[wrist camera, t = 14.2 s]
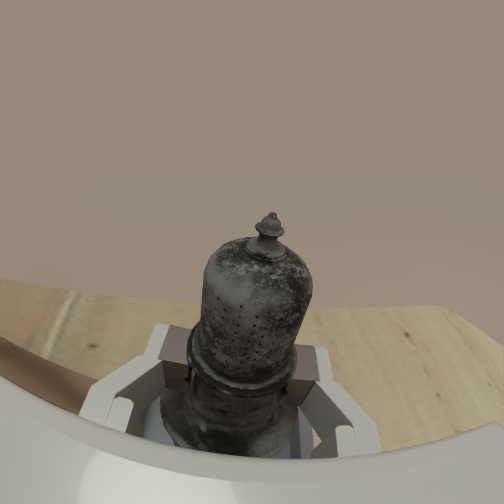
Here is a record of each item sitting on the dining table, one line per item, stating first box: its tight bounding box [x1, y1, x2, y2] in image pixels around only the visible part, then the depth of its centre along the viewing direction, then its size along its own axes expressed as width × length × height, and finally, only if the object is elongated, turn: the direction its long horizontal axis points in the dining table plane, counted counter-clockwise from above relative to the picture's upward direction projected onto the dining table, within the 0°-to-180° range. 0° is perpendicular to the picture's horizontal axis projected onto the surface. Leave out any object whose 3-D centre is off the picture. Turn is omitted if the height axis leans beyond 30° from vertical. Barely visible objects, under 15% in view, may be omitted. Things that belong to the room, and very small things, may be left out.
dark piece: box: [159, 212, 313, 458], centre depth 9 cm, size 6×6×12 cm
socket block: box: [0, 337, 99, 415], centre depth 12 cm, size 18×18×2 cm
